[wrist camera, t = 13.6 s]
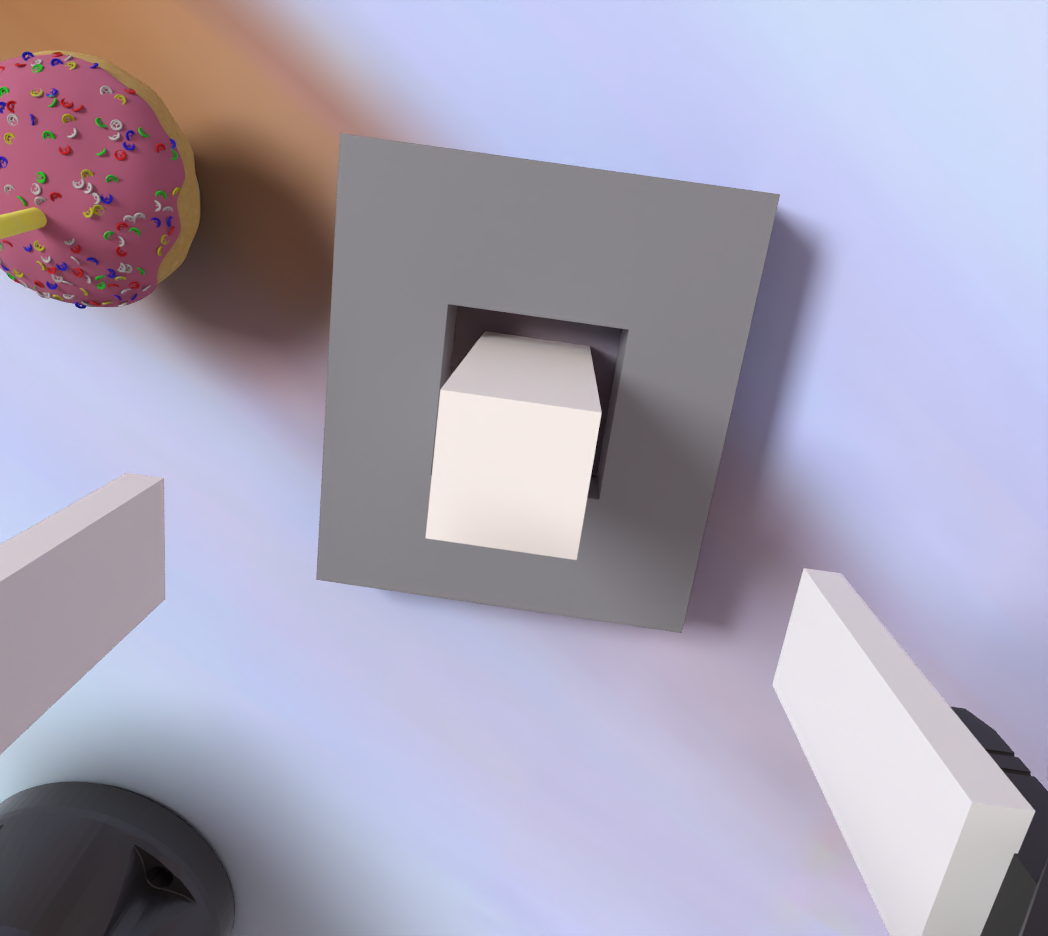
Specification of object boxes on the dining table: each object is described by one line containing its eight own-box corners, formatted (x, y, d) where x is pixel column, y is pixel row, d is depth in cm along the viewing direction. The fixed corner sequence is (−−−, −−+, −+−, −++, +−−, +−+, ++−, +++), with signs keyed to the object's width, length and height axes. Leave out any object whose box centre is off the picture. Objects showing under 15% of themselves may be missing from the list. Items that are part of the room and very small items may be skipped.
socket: (672, 600, 36) (681, 632, 33) (336, 551, 36) (316, 579, 33) (759, 197, 30) (779, 194, 27) (361, 141, 30) (340, 133, 28)
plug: (573, 446, 34) (576, 560, 22) (473, 432, 34) (425, 538, 23) (589, 345, 32) (601, 412, 21) (485, 331, 33) (440, 389, 21)
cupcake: (254, 296, 33) (85, 335, 21) (61, 296, 33) (-205, 334, 22) (229, 72, 30) (22, -20, 19) (20, 76, 30) (-307, -12, 19)
